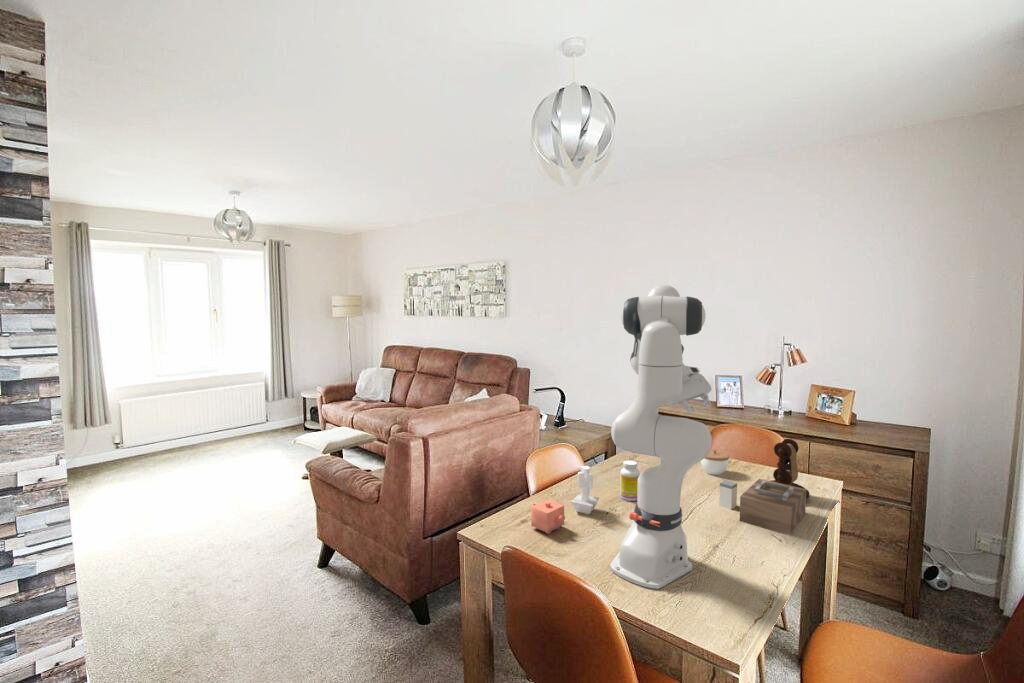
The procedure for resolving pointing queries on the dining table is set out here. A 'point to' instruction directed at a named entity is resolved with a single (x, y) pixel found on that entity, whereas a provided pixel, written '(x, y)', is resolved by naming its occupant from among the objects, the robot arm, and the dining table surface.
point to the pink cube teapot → (547, 516)
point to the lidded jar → (715, 462)
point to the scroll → (787, 471)
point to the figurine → (585, 492)
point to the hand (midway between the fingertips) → (700, 409)
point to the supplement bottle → (629, 481)
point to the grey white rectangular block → (728, 494)
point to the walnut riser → (773, 506)
